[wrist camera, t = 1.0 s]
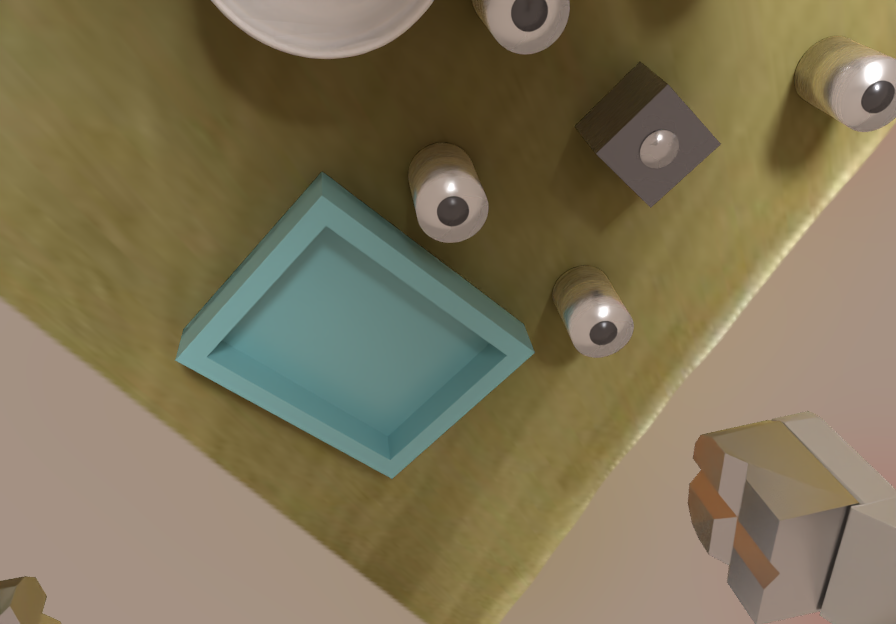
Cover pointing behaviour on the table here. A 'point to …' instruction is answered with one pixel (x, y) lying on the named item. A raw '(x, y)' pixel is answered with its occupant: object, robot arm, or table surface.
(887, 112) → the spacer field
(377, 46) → the ramekin
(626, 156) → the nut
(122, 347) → the table surface
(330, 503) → the table surface
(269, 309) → the tray
